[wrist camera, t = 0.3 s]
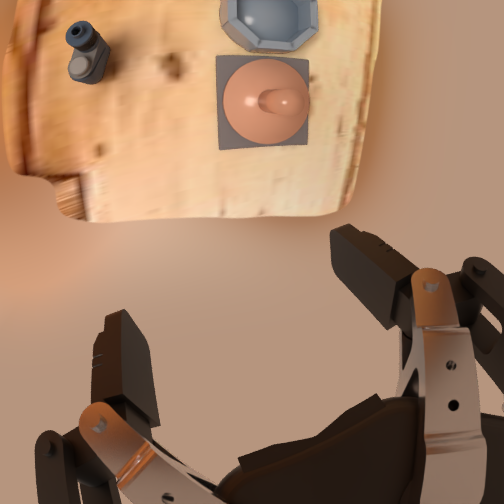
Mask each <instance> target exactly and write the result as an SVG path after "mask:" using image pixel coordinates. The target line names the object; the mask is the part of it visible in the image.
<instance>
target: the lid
mask: <svg viewBox="0 0 504 504" xmlns="http://www.w3.org/2000/svg"><path fill="white" fill-rule="evenodd" d="M309 103H310V101H309V92H308V89H307V86H306V84H305V81H304V80H303V78H302V77H301V75H300V74H299V73H298V72H297V71H296V70H295V69H294V68H292V67H291V66H290V65H288V64H286V63H284V62H281V61H278V60H274V59H260V60H255V61H252V62H249V63H247V64H245V65H243V66H241V67H240V68H238V69H237V70H236V71H235V72H234V73H233V74H232V75H231V76H230V78H229V79H228V81H227V83H226V85H225V88H224V91H223V96H222V105H223V111H224V114H225V117H226V119H227V121H228V123H229V124H230V126H231V127H232V128H233V129H234V130H235V131H236V132H237V133H238V134H239V135H240V136H242V137H244V138H246V139H248V140H250V141H253V142H256V143H260V144H275V143H279V142H282V141H284V140H286V139H288V138H290V137H291V136H293V135H294V134H295V133H296V132H297V131H298V130H299V129H300V128H301V127H302V125H303V123H304V122H305V120H306V118H307V115H308V111H309Z"/></svg>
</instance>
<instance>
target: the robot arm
mask: <svg viewBox="0 0 504 504" xmlns="http://www.w3.org/2000/svg"><path fill="white" fill-rule="evenodd" d="M330 248H331V262H332V267H333V270H334V272H335V274H336V275H337V277H338V278H339V279H340V280H341V281H342V282H343V283H344V284H345V285H346V286H347V287H348V289H349V290H350V291H351V292H352V293H353V294H354V295H355V296H356V297H357V298H358V299H359V300H360V301H361V303H362V304H363V305H364V306H365V307H366V308H367V309H368V310H369V311H370V312H371V313H372V314H373V315H374V317H375V318H376V319H377V320H378V321H379V322H380V323H381V324H382V325H383V327H385V329H386V330H389V329H390V328H392V327H393V326H395V325H398V326H399V328H400V332H399V380H398V385H397V389H396V396H395V397H392V398H387V399H383V400H381V399H380V398H379V396H378V395H377V394H374V395H373V396H371V397H369V398H368V399H366V400H364V401H363V402H361V403H359V404H357V405H356V406H354V407H352V408H350V409H348V410H347V411H345V412H344V413H343V414H342V415H340V416H339V417H338V418H337V419H336V420H335V421H334V422H333V423H331V424H330V425H329V426H328V427H326V428H325V429H324V430H323V431H322V432H320V433H319V434H318V435H317V436H314V437H312V438H308V439H303V440H297V441H293V442H287V443H281V444H274V445H271V446H269V447H266V448H263V449H261V450H258V451H255V452H252V453H250V454H247V455H244V456H241V457H238V460H239V463H240V465H239V466H238V467H236V468H235V469H233V470H232V471H231V472H230V473H228V474H227V475H226V476H225V477H224V478H223V479H222V481H221V482H220V483H219V485H218V484H216V483H215V482H213V481H211V480H210V479H208V478H206V477H205V476H203V475H202V474H200V473H199V472H197V471H195V470H194V469H192V468H191V467H189V466H188V465H187V464H185V463H184V462H182V461H181V460H180V459H178V458H177V457H176V456H175V455H173V454H172V453H171V452H169V451H168V450H167V449H166V448H165V447H163V446H162V445H161V444H160V443H158V442H157V441H156V440H155V439H153V438H152V434H151V428H153V427H157V426H160V419H159V414H158V408H157V401H156V395H155V388H154V382H153V374H152V367H151V358H150V350H149V346H148V343H147V341H146V339H145V337H144V335H143V334H142V333H141V331H140V330H139V328H138V327H137V325H136V324H135V322H134V321H133V319H132V318H131V317H130V315H129V313H128V312H127V311H126V310H125V309H123V310H120V311H117V312H115V313H112V314H109V315H107V316H106V317H105V325H104V331H103V332H101V333H99V335H98V336H97V338H96V341H95V343H94V346H93V360H92V367H93V369H92V381H91V405H89V406H88V407H87V408H86V409H85V410H84V411H83V413H82V414H81V416H80V419H79V426H78V427H76V428H75V429H73V430H71V431H70V432H68V433H66V434H65V435H63V436H61V435H59V434H58V433H56V432H55V431H52V430H48V431H45V432H43V433H42V434H41V435H40V436H39V437H38V439H37V441H36V444H35V469H36V485H37V494H38V503H39V504H81V501H80V495H79V489H78V483H77V482H79V483H80V489H81V495H82V500H83V504H121V499H120V495H119V492H118V488H119V489H120V490H121V491H122V493H123V494H124V495H125V496H126V497H127V498H128V499H130V501H131V502H132V503H133V504H504V417H502V416H496V415H491V414H485V413H480V401H479V389H478V380H477V372H476V364H475V359H476V360H477V361H478V363H479V364H480V365H481V366H482V367H483V369H484V370H485V371H486V372H487V374H488V375H489V376H490V377H491V378H492V380H493V381H494V382H495V384H496V385H497V386H498V388H499V389H500V390H501V392H502V393H503V394H504V274H502V273H501V272H500V271H499V270H498V269H497V268H495V267H494V266H493V265H492V264H491V263H489V262H488V261H486V260H484V259H483V258H479V257H469V258H467V259H466V260H465V261H464V263H463V266H462V269H461V271H459V272H455V273H451V274H447V275H445V274H444V273H442V272H441V271H438V270H437V269H433V268H422V269H419V268H418V267H416V266H415V265H414V264H413V263H411V262H410V261H409V260H408V259H406V258H405V257H404V256H403V255H401V254H400V253H399V252H397V251H396V250H395V249H394V250H393V248H392V247H391V246H390V245H388V244H386V243H385V242H384V241H383V240H381V239H380V238H379V237H378V236H376V235H374V234H371V233H368V232H365V231H363V232H360V231H359V230H357V229H356V228H355V227H353V226H352V225H351V224H346V225H343V226H340V227H338V228H335V229H333V230H331V232H330ZM483 305H484V306H485V307H486V308H487V309H488V310H489V311H490V312H491V313H492V314H493V315H494V316H495V317H496V318H497V319H498V320H499V322H500V323H501V325H502V334H500V333H499V331H497V329H496V328H495V327H494V326H493V325H492V324H491V323H490V322H489V321H488V320H487V319H486V318H485V317H484V316H483V315H482V314H481V313H480V312H481V310H482V307H483ZM502 410H503V412H504V402H503V405H502ZM115 477H117V479H118V481H117V482H116V478H115ZM117 486H118V487H117Z"/></svg>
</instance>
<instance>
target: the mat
mask: <svg viewBox="0 0 504 504" xmlns="http://www.w3.org/2000/svg"><path fill="white" fill-rule="evenodd" d="M260 59H274V60H278V61H281V62H284V63H286V64H288V65H290V66H291V67H292V68H294V69H295V70H296V71H297V72H298V73H299V74H300V75H301V77H302V78H303V80H304V81H305V84H306V86H307V89H308V91H309V60H304V59H295V58H284V57H269V56H240V55H227V56H216V86H217V115H218V139H219V150H227V149H238V148H250V147H265V146H283V145H307V139H308V115H307V118H306V120H305V122H304V123H303V125H302V127H301V128H300V129H299V130H298V131H297V132H296V133H295V134H294V135H293V136H291V137H290V138H288V139H286V140H284V141H282V142H279V143H275V144H260V143H256V142H253V141H250V140H248V139H246V138H244V137H242V136H240V135H239V134H238V133H237V132H236V131H235V130H234V129H233V128H232V127H231V126H230V124H229V123H228V121H227V119H226V117H225V114H224V111H223V105H222V96H223V91H224V88H225V85H226V83H227V81H228V79H229V78H230V76H231V75H232V74H233V73H234V72H235V71H236V70H237V69H238V68H240V67H241V66H243V65H245V64H247V63H249V62H252V61H255V60H260Z"/></svg>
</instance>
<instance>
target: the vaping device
mask: <svg viewBox="0 0 504 504" xmlns="http://www.w3.org/2000/svg"><path fill="white" fill-rule="evenodd" d="M66 42H67V43H68V44H69V45H71V46H72V47H74V52H73V55H72V58H71V61H70V62H69V65H68V72H69V75H70V77H71V78H72V79H73V80H75V81H78V82H82V83H86V84H95V83H97V82H99V81H100V80H101V78H102V77H103V74H104V70H105V67H106V63H107V60H108V57H109V54H110V47H109V46H108V45H107V44H106V42H105V41H104V40H103V38H102V37H101V36H100V34H99V33H98V32H97V31H96V30H95V29H94V28H93V27H92V25H91V24H90V23H89V22H87V21H79V22H76V23H74V24H73V25H72V26H71V27H70V28H69V29H68V31H67V33H66Z"/></svg>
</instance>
